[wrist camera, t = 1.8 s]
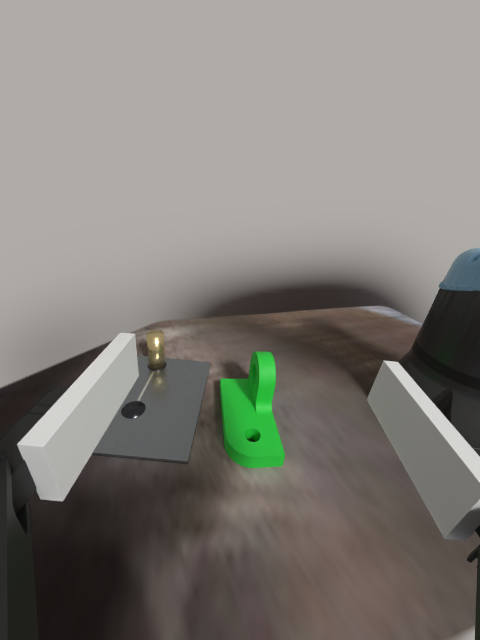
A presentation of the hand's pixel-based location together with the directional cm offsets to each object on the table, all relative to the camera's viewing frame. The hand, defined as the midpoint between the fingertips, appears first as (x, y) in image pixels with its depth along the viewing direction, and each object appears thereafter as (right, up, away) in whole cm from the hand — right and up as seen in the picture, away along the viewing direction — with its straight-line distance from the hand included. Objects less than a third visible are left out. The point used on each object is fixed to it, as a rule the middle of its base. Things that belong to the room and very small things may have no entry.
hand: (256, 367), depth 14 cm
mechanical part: (0, -11, +19) cm, 21 cm away
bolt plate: (-13, -8, +20) cm, 26 cm away
